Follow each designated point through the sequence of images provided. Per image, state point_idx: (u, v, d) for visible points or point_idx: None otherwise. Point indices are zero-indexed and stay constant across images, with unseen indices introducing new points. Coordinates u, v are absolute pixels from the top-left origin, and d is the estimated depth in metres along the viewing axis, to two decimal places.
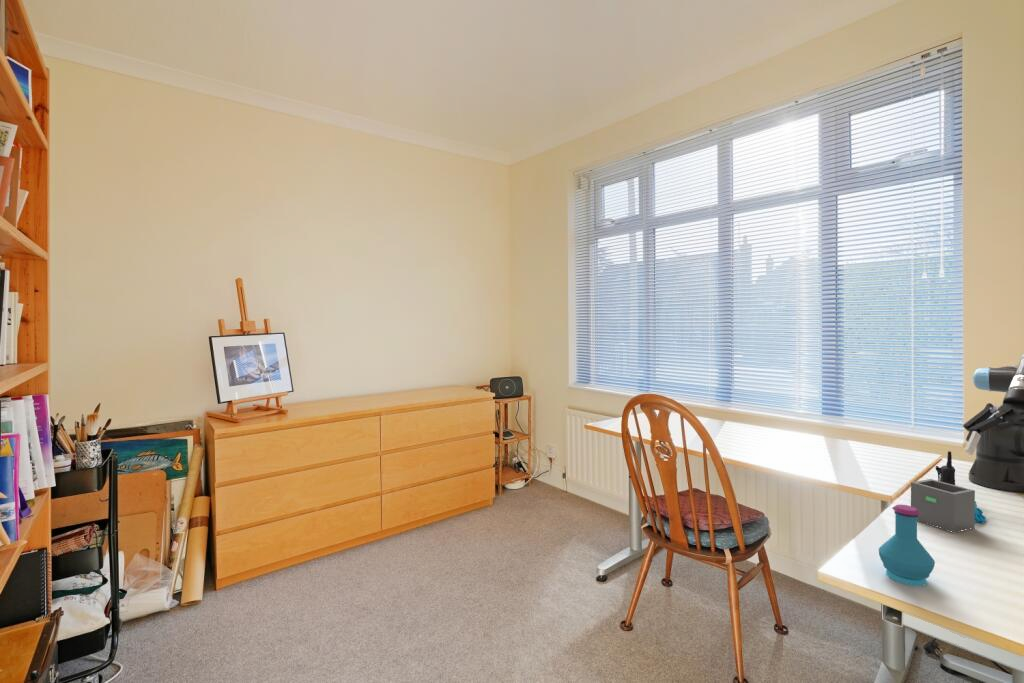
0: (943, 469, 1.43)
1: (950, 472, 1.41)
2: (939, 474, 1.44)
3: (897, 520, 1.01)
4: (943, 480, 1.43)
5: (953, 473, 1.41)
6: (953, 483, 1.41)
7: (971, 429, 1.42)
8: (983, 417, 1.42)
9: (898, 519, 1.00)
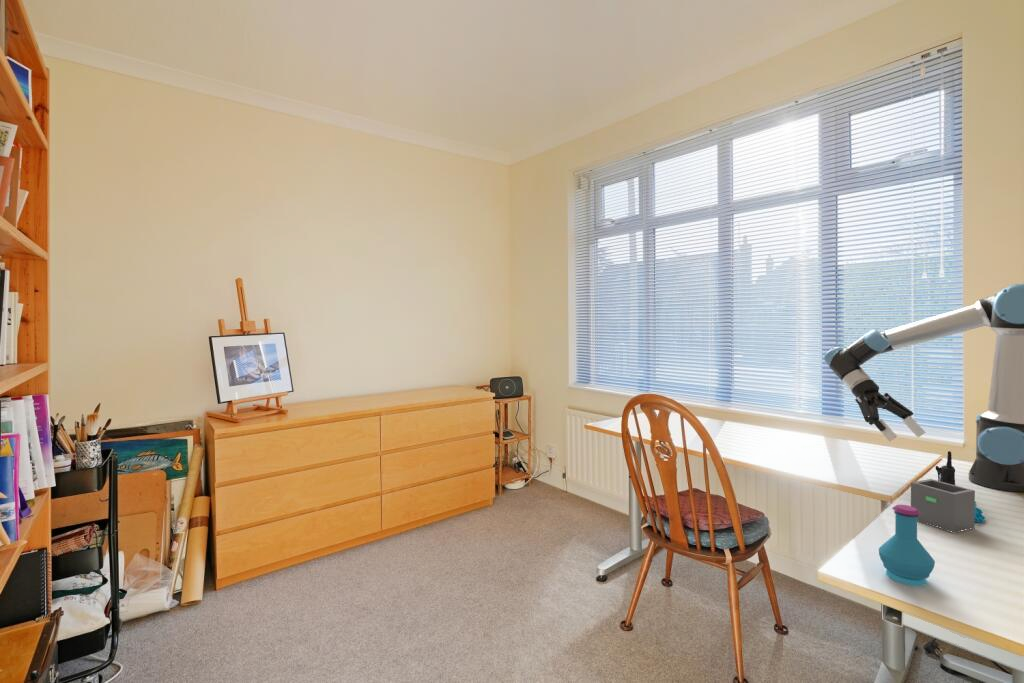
0: (943, 469, 1.43)
1: (950, 472, 1.41)
2: (939, 474, 1.44)
3: (897, 520, 1.01)
4: (943, 480, 1.43)
5: (953, 473, 1.41)
6: (953, 483, 1.41)
7: None
8: None
9: (898, 519, 1.00)
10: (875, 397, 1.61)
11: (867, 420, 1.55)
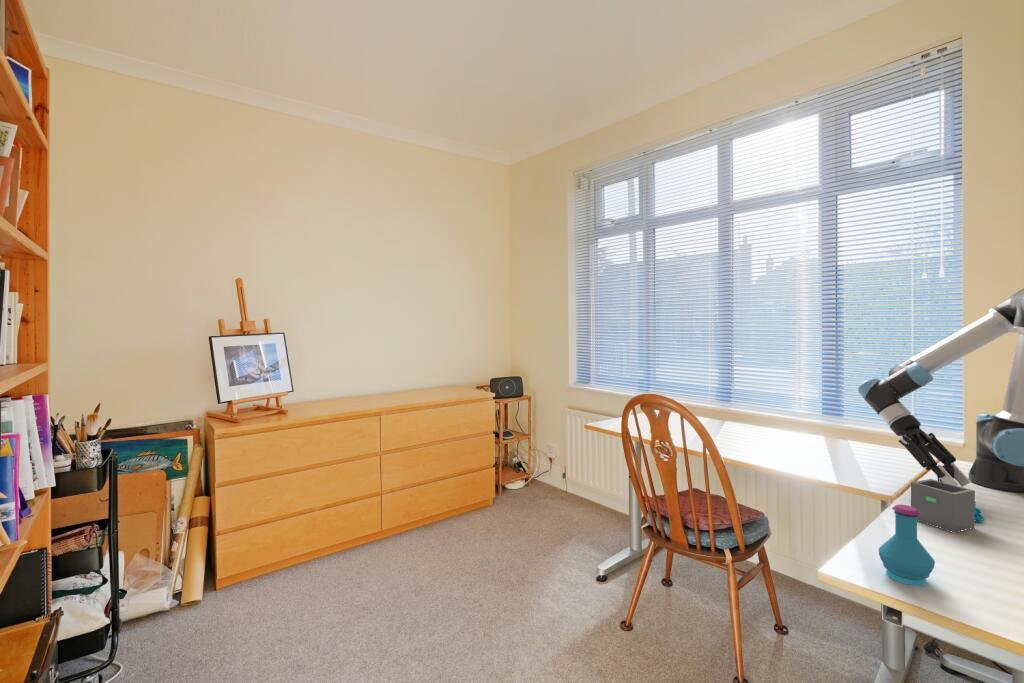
0: None
1: (949, 472, 1.41)
2: None
3: (897, 520, 1.01)
4: None
5: (952, 473, 1.41)
6: None
7: None
8: None
9: (898, 519, 1.00)
10: (918, 435, 1.49)
11: (924, 466, 1.44)
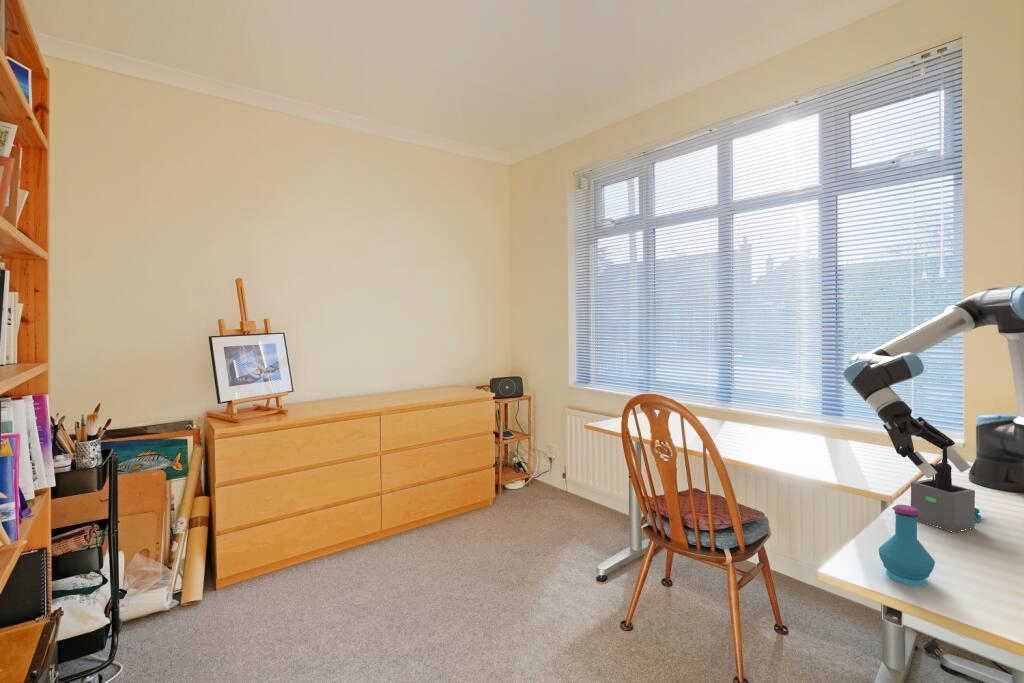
0: (938, 467, 1.26)
1: (946, 470, 1.24)
2: None
3: (897, 520, 1.01)
4: (938, 479, 1.25)
5: (949, 471, 1.24)
6: (949, 483, 1.24)
7: None
8: (929, 432, 1.35)
9: (898, 519, 1.00)
10: (908, 423, 1.33)
11: (899, 452, 1.27)
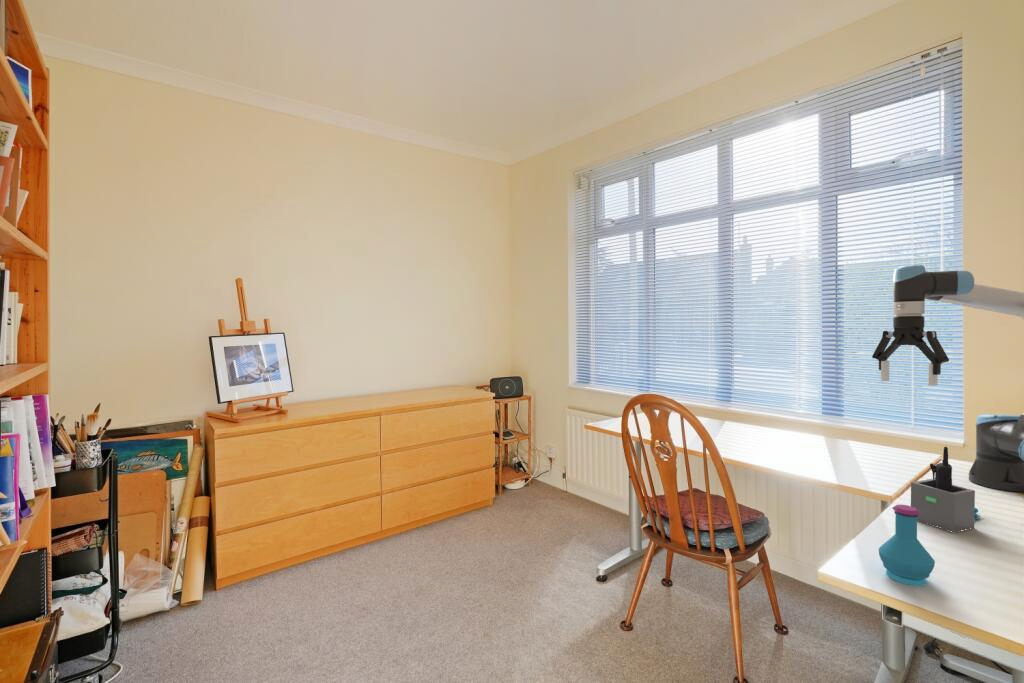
0: (938, 467, 1.26)
1: (947, 471, 1.24)
2: (934, 473, 1.27)
3: (897, 520, 1.01)
4: (938, 480, 1.25)
5: (950, 472, 1.24)
6: (950, 483, 1.24)
7: (879, 359, 1.56)
8: (884, 344, 1.55)
9: (898, 519, 1.00)
10: None
11: (944, 361, 1.39)
